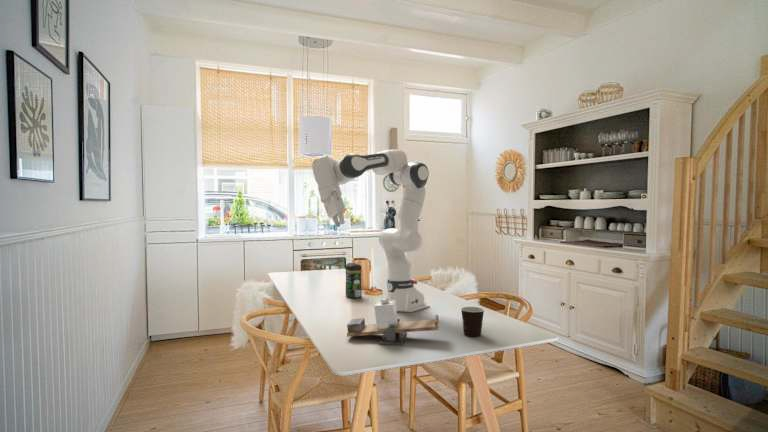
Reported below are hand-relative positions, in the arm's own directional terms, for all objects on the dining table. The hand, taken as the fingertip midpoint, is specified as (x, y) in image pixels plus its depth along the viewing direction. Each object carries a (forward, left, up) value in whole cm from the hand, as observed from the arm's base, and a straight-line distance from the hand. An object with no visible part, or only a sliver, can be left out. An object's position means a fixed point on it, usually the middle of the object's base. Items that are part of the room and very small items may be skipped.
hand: (340, 225), depth 174 cm
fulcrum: (-8, +26, -42) cm, 50 cm away
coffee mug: (-37, +40, -42) cm, 69 cm away
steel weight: (-7, +25, -38) cm, 45 cm away
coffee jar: (-33, -44, -42) cm, 69 cm away
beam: (-8, +26, -38) cm, 47 cm away
